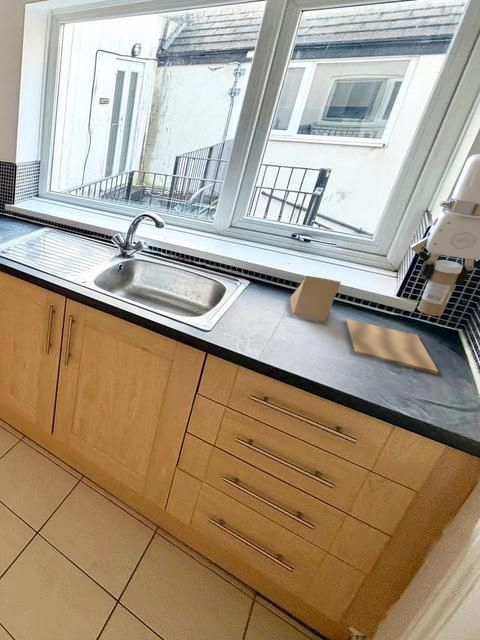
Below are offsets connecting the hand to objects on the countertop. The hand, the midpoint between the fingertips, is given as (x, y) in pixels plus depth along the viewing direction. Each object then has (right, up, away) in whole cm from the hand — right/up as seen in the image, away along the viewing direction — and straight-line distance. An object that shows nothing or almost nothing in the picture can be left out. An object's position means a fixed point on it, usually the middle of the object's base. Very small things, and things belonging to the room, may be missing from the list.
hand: (440, 279), depth 103 cm
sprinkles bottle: (0, -8, +2) cm, 9 cm away
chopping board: (+2, -20, +16) cm, 26 cm away
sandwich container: (-5, -12, +35) cm, 38 cm away
